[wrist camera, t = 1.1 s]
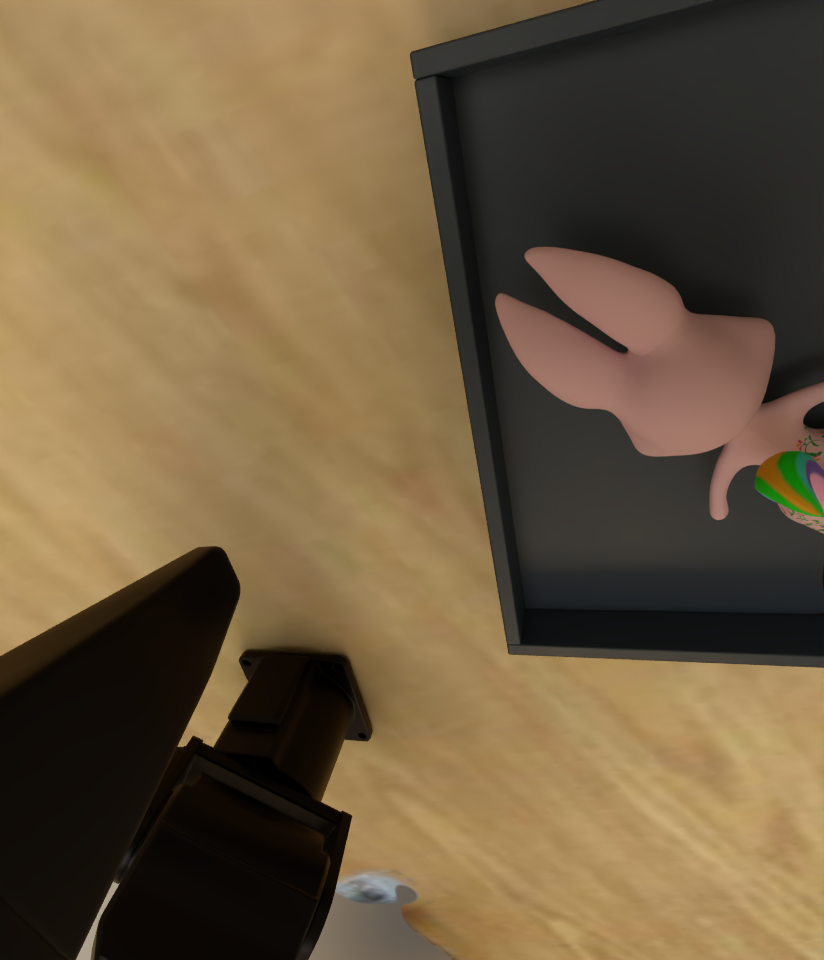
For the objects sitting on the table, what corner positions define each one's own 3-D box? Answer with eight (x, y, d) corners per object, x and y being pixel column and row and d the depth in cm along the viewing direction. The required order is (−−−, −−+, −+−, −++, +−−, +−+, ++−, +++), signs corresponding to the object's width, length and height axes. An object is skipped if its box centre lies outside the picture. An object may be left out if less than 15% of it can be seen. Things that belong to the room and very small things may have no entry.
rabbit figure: (946, 412, 20) (575, 155, 16) (1094, 533, 15) (612, 205, 11) (786, 531, 23) (454, 340, 20) (865, 660, 18) (445, 437, 15)
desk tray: (915, 620, 23) (950, 673, 21) (514, 611, 27) (508, 654, 25) (1128, -132, 12) (1241, -180, 10) (430, 58, 17) (408, 52, 15)
